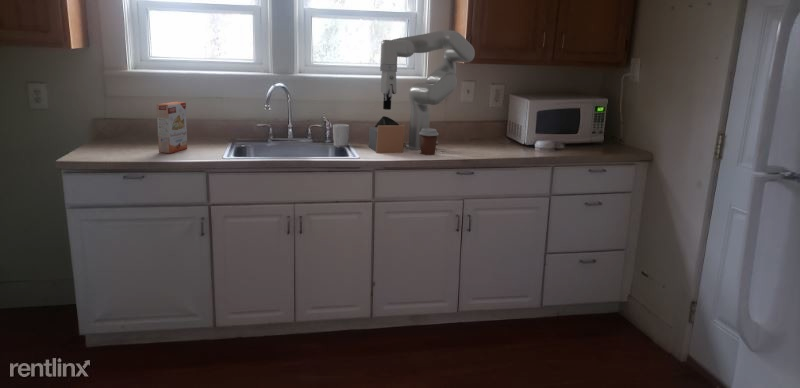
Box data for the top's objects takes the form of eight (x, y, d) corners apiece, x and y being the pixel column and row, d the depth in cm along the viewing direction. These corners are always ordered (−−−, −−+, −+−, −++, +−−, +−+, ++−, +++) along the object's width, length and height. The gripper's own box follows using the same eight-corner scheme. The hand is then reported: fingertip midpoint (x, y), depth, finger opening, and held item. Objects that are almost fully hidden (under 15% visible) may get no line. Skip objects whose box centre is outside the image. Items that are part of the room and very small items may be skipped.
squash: (408, 132, 306) (390, 109, 303) (405, 138, 291) (386, 114, 289) (387, 149, 309) (368, 127, 307) (383, 156, 295) (364, 132, 293)
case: (392, 147, 292) (393, 127, 290) (401, 153, 279) (402, 131, 277) (368, 148, 289) (369, 127, 286) (376, 153, 276) (377, 131, 273)
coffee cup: (429, 157, 271) (430, 131, 268) (413, 154, 277) (415, 128, 274) (441, 155, 278) (443, 129, 275) (426, 152, 283) (427, 127, 280)
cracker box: (171, 154, 256) (168, 104, 251) (158, 153, 257) (155, 104, 252) (188, 148, 269) (186, 101, 264) (176, 147, 270) (173, 101, 265)
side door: (402, 151, 279) (404, 125, 274) (402, 152, 278) (405, 126, 273) (375, 152, 275) (377, 125, 271) (376, 152, 274) (378, 126, 270)
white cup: (329, 145, 291) (329, 125, 288) (338, 143, 298) (338, 123, 295) (343, 147, 287) (343, 126, 285) (351, 145, 294) (352, 125, 292)
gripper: (401, 69, 263) (399, 111, 268) (391, 67, 277) (390, 107, 282) (385, 68, 261) (383, 111, 266) (376, 67, 275) (374, 107, 279)
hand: (386, 109), depth 274 cm, fingers closed
